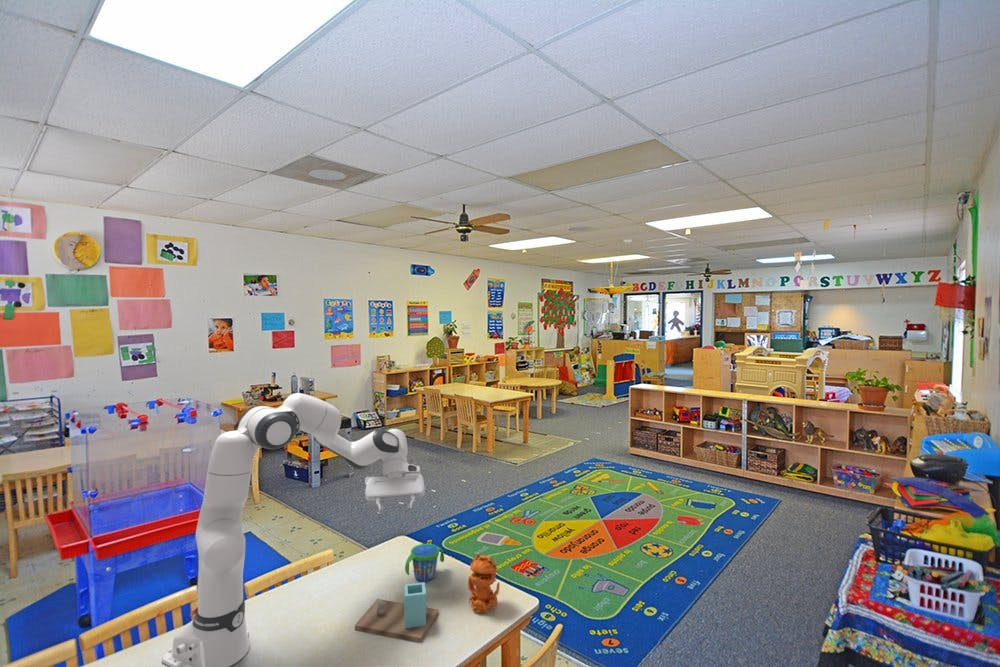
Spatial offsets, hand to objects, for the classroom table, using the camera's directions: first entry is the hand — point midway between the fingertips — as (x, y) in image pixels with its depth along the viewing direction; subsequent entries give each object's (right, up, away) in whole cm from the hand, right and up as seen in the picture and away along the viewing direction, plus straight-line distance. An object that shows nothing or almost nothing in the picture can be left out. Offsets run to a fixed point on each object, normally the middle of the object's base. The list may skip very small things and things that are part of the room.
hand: (395, 510), depth 156 cm
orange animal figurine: (+30, -32, -2) cm, 44 cm away
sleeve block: (+9, -30, -11) cm, 33 cm away
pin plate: (+3, -32, -10) cm, 33 cm away
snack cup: (+7, -31, +16) cm, 36 cm away
